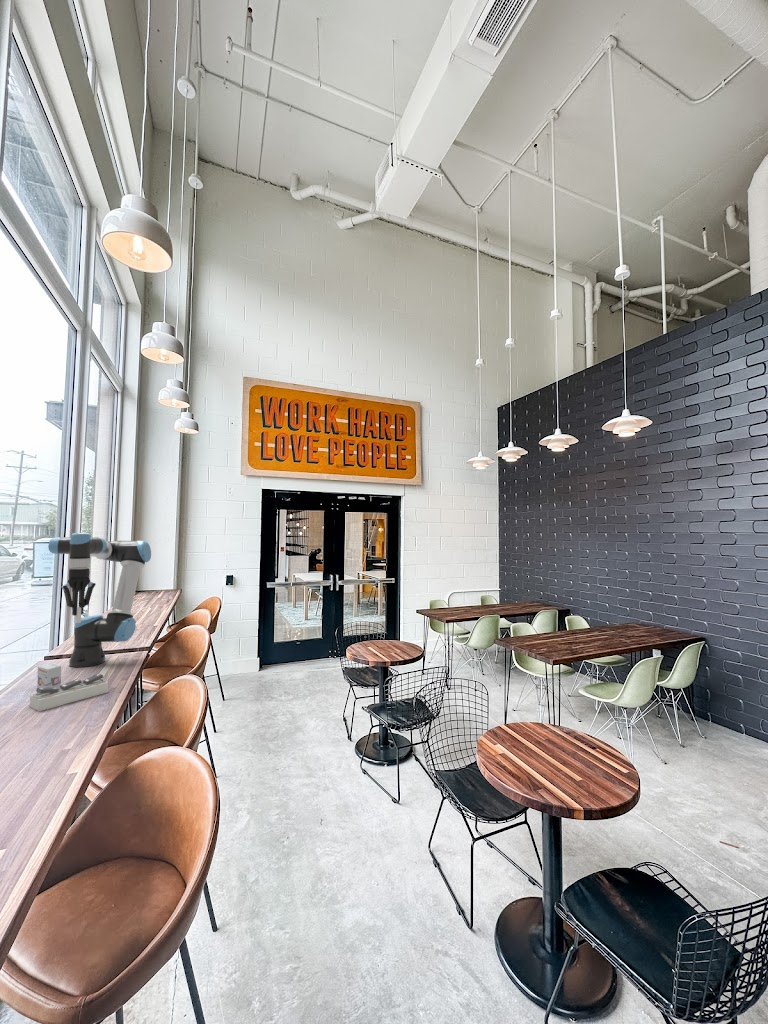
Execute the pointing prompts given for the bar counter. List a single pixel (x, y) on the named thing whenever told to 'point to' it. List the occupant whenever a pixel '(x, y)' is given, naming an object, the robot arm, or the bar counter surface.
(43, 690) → the rocker
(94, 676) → the rocker
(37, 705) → the rocker switch panel
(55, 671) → the ink box
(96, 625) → the robot arm
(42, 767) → the bar counter surface
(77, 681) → the rocker
